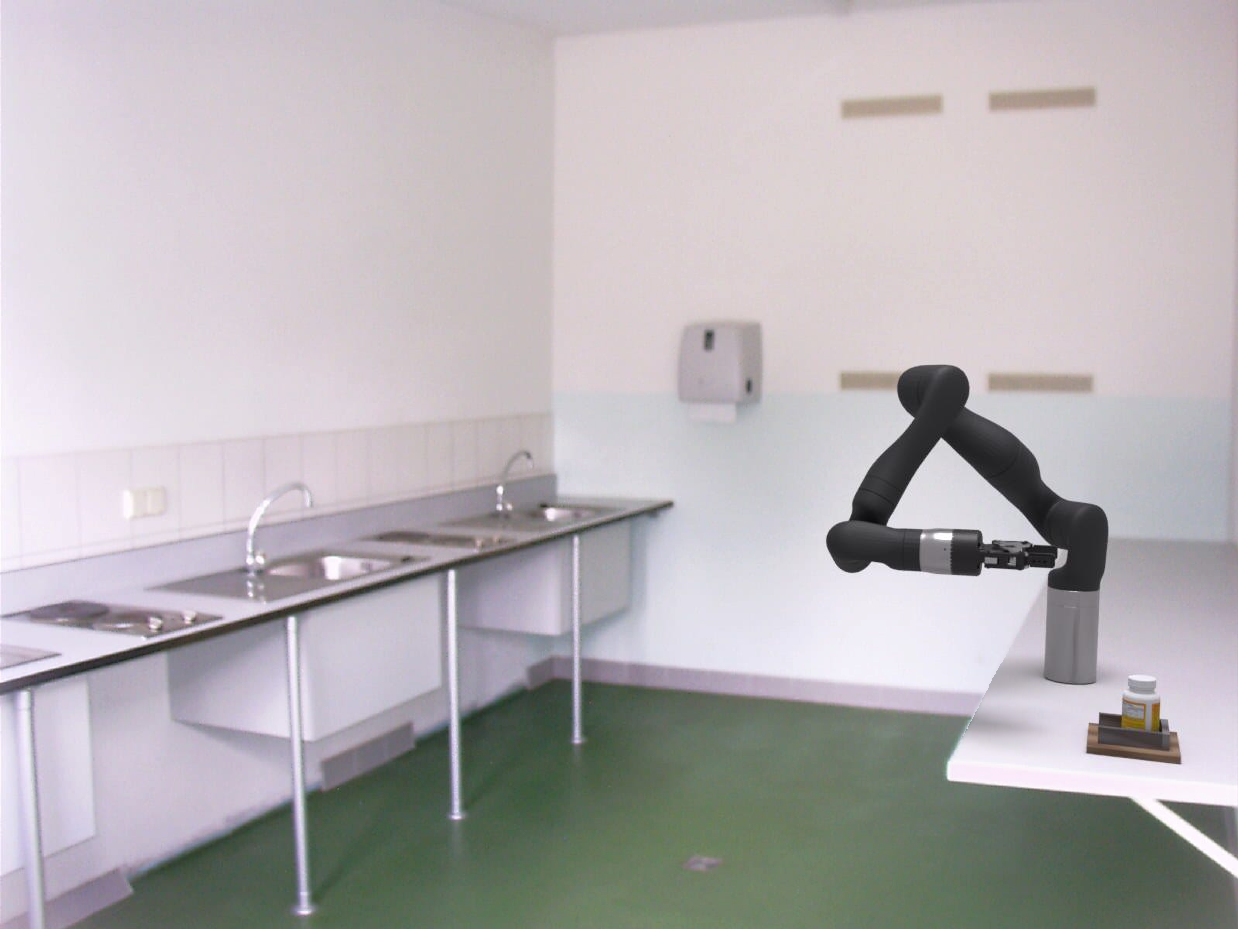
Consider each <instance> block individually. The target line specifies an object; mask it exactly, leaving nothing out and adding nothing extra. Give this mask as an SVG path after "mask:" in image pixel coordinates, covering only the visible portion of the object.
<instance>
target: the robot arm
mask: <svg viewBox="0 0 1238 929" xmlns="http://www.w3.org/2000/svg"><path fill="white" fill-rule="evenodd" d="M897 380H898V381H897V385H896V387H897V388H896V393H897V397H898V400H899V402H900V404H901V406H902V407H903V409H904V410H905V411H906V412H907V414H909V415H910V416H911V417H912V418H914V419H913V420H912V421H911V423H910V424H909V426H908V427H907V428H906V429H905V430H904V432H903V433H902V434H901V435H900V436H899V437H898V438H897V439H896V440H895V441H894V442H893V443H892V444H891V445H889V447H887V448H886V449H885V450H884V451H883V452H882V453H881V454H880V455H879V456H878V457H877V459H876V460H874V462H873V463H872V464H871V466H870V467H869V469H868V470H867V472H866V474H865V476H864V478H863V479H862V481H861V483H860V485H859V487H858V488H857V490H856V492H855V494H854V496H853V498H852V500H851V501H852V502H851V514H850V516H849V519H848V520H845V521H843V520H842V521H840V522H838V523H836V524H833V526H831V528H829V530H828V532H827V534H826V537H825V544H826V548H827V551H828V553H829V554H830V557H831V559H832V560H833V562H834V564H835V565H836V566H837V568H839V569H840V570H841V571H842V572H845V573H848V574H856V573H857V574H858V573H860V572H862V571H864V570H866V568H868V567H869V566H870V565H871V563H879V564H883V565H885V566H887V567H888V568H889V569H891V570H894V571H895V570H896V571H902V572H920V573H921V572H923V573H929V574H933V575H948V576H961V577H962V576H966V577H980V575H981V574H982V569H983V567H984V569H997V570H1013V571H1014V570H1015V571H1020V572H1021V571H1023V570H1026V569H1030V568H1037V569H1039V568H1040V569H1050V570H1049V572H1048V574H1047V589H1046V590H1047V591H1046V592H1047V593H1046V616H1045V617H1046V618H1045V638H1044V639H1045V640H1044V641H1045V643H1044V663H1043V664H1044V666H1043V667H1044V668H1043V677H1044V678H1046V679H1049V680H1050V681H1055V682H1057V683H1064V684H1065V683H1066V684H1079V685H1083V684H1084V685H1085V684H1086V685H1087V684H1091V683H1094V682H1096V681H1097V669H1098V666H1097V665H1098V644H1099V641H1098V640H1099V622H1100V621H1099V620H1100V600H1101V599H1100V593H1101V592H1100V591H1101V581H1102V579H1103V577H1104V574H1105V570H1106V564H1107V554H1108V553H1107V551H1108V545H1109V544H1108V542H1109V520H1108V517H1107V513H1105V510H1103V508H1102V507H1100V505H1097V504H1095V503H1094V504H1093V503H1088V502H1082V501H1075V500H1069V499H1065V498H1063V497H1062V496H1060V495H1058V493H1056V492H1055V491H1053V490H1052V489H1051V488H1050V487H1049V486H1048V485H1047V484H1046V483H1045V482H1044V481H1043V479H1042V477H1041V470H1040V469H1041V468H1040V465H1039V462H1038V460H1037V457H1036V456H1035V454H1034V453H1033V452H1032V451H1031V450H1030V449H1029V448H1028V447H1027V446H1026V445H1025V444H1024V443H1023V442H1022V441H1021V440H1020V439H1019V438H1018V437H1017V436H1016V435H1014V434H1013V433H1012V432H1011V431H1009V430H1008V429H1006V428H1005V427H1003V426H1001V425H1000V424H998V423H995V422H994V421H992V420H990V419H988V418H986V417H984V416H982V415H980V414H978V413H975V412H974V411H972V410H970V409H969V408H967V407H966V405H967V403H968V399H969V396H970V390H971V389H970V387H971V386H970V381H969V378H968V376H967V374H966V373H965V372H964V371H963V369H961V368H960V367H958V366H955V365H953V364H952V365H951V364H922V365H917V366H916V365H915V366H913V367H909V368H907V369H906V370H904V371H903V373H902V374H900V376H899V378H898V379H897ZM941 439H942V440H943V441H944V442H946V443H947V445H949V446H950V447H951V448H952V450H954V451H955V452H956V453H957V454H958V455H959V457H961V458H962V459H963V460H965V462H966V463H968V464H969V465H970V466H971V467H972V468H973V469H974V470H975V471H976V473H978V474H979V475H980V477H982V478H983V479H984V480H985V481H986V482H987V483H988V484H989V485H990V486H992V487H993V488H994V489H995V490H997V492H998V493H1000V495H1002V496H1003V497H1004V498H1005V499H1006V500H1007V501H1008V502H1009V503H1010V504H1012V505H1013V506H1014V507H1015V508H1016V509H1017V510H1018V511H1019V512H1020V513H1021V514H1022V515H1023V516H1024V517H1025V518H1026V520H1027V521H1028V522H1029V523H1030V524H1031V526H1032V527H1033V528H1034V530H1036V532H1037V533H1038V535H1039V536H1040V537H1041V538H1042V539H1043V540H1044V541H1045V542H1046V543H1047V545H1046V544H1034V543H1032V542H1030V541H1028V540H1024V541H1022V540H1002V539H1001V540H1000V539H999V540H998V539H993V540H991V543H984V541H983V540H984V536H983V533H982V531H981V530H980V529H963V528H946V527H945V528H941V527H939V528H938V527H936V528H934V527H933V528H924V529H923V528H895V527H891V526H888V523H889V520H890V519H891V516H892V515H893V514H894V512H895V510H896V508H897V507H898V504H899V503H900V500H901V499H902V497H903V495H904V494H905V492H906V489H907V488H908V487H909V484H910V483H911V481H912V479H913V478H914V476H915V474H916V473H917V471H918V470H919V468H920V467H921V466H922V464H923V462H925V460H926V459H927V457H928V456H929V454H930V453H931V452H932V451H933V449H934V448H935V447H936V445H937V444H938V443H939V441H940V440H941ZM1048 544H1049V545H1048ZM1059 549H1060V550H1064V551H1067V554H1066V560H1065V563H1064V564H1063V565H1062V566H1060V567H1057V568H1055V566H1056V560H1057V559H1058V557H1059V556H1058V553H1059V551H1058V550H1059Z"/></svg>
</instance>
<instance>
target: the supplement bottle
mask: <svg viewBox="0 0 1238 929" xmlns="http://www.w3.org/2000/svg"><path fill="white" fill-rule="evenodd" d="M1127 686H1128V687H1129V688H1127V689H1125V690H1124V691H1123V692H1122V699H1121V701H1122V702H1121V715H1122V725H1121V728H1127V729H1136V730H1145V731H1155V732H1159V722H1160V719H1161V718H1160V716H1161V695H1160V694H1159V693H1158V692H1156V691H1155V690H1156V688H1157V678H1155V677H1154V676H1150V675H1143V674H1133V675H1129V676H1128V677H1127Z"/></svg>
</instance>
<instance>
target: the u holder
mask: <svg viewBox="0 0 1238 929" xmlns="http://www.w3.org/2000/svg"><path fill="white" fill-rule="evenodd" d="M1121 725H1122V714H1120V713H1107V712H1100V711H1099V712H1098V723H1095V722H1088V727H1087V740H1086V754H1092V755H1099V756H1100V755H1101V756H1107V757H1109V756H1110V757H1117V758H1126V759H1127V758H1128V759H1135V760H1143V761H1151V762H1161V763H1168V764H1170V763H1171V764H1178V765H1181V763H1182V754H1181V750H1180V742H1179V737H1178V732H1177V731H1170V726H1169V719H1166V718H1160V722H1159V732H1155V731H1145V730H1136V729H1127V728H1121Z"/></svg>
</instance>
